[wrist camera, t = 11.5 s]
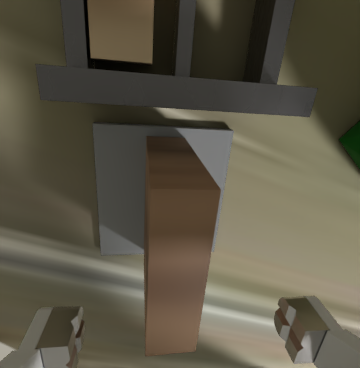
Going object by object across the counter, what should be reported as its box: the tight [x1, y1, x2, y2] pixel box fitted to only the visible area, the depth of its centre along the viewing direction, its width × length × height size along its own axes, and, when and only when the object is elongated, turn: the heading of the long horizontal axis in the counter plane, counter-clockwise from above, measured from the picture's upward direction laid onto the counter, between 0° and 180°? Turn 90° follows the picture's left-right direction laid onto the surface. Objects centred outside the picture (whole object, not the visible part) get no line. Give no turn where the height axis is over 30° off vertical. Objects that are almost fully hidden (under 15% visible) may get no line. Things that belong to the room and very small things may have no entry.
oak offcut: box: [87, 0, 154, 65], centre depth 12 cm, size 5×3×2 cm, turn 175°
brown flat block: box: [144, 136, 221, 356], centre depth 14 cm, size 9×2×8 cm, turn 175°
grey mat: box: [93, 122, 234, 255], centre depth 18 cm, size 10×9×1 cm
